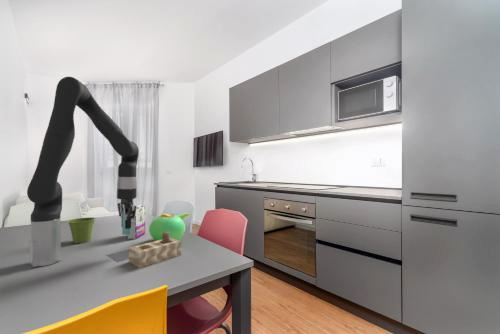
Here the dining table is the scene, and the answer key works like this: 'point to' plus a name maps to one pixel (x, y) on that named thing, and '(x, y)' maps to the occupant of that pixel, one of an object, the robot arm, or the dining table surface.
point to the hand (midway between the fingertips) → (126, 227)
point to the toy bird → (168, 226)
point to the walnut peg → (165, 237)
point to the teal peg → (124, 231)
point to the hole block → (154, 252)
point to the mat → (119, 255)
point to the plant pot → (81, 229)
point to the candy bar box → (138, 223)
